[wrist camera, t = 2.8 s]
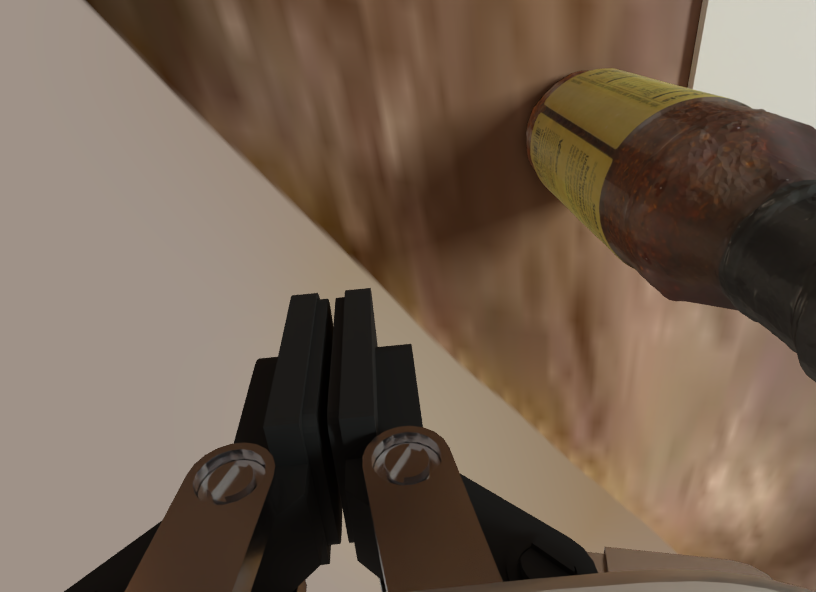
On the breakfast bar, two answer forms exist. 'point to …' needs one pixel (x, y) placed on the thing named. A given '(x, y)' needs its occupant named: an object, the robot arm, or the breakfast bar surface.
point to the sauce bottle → (689, 193)
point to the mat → (759, 55)
